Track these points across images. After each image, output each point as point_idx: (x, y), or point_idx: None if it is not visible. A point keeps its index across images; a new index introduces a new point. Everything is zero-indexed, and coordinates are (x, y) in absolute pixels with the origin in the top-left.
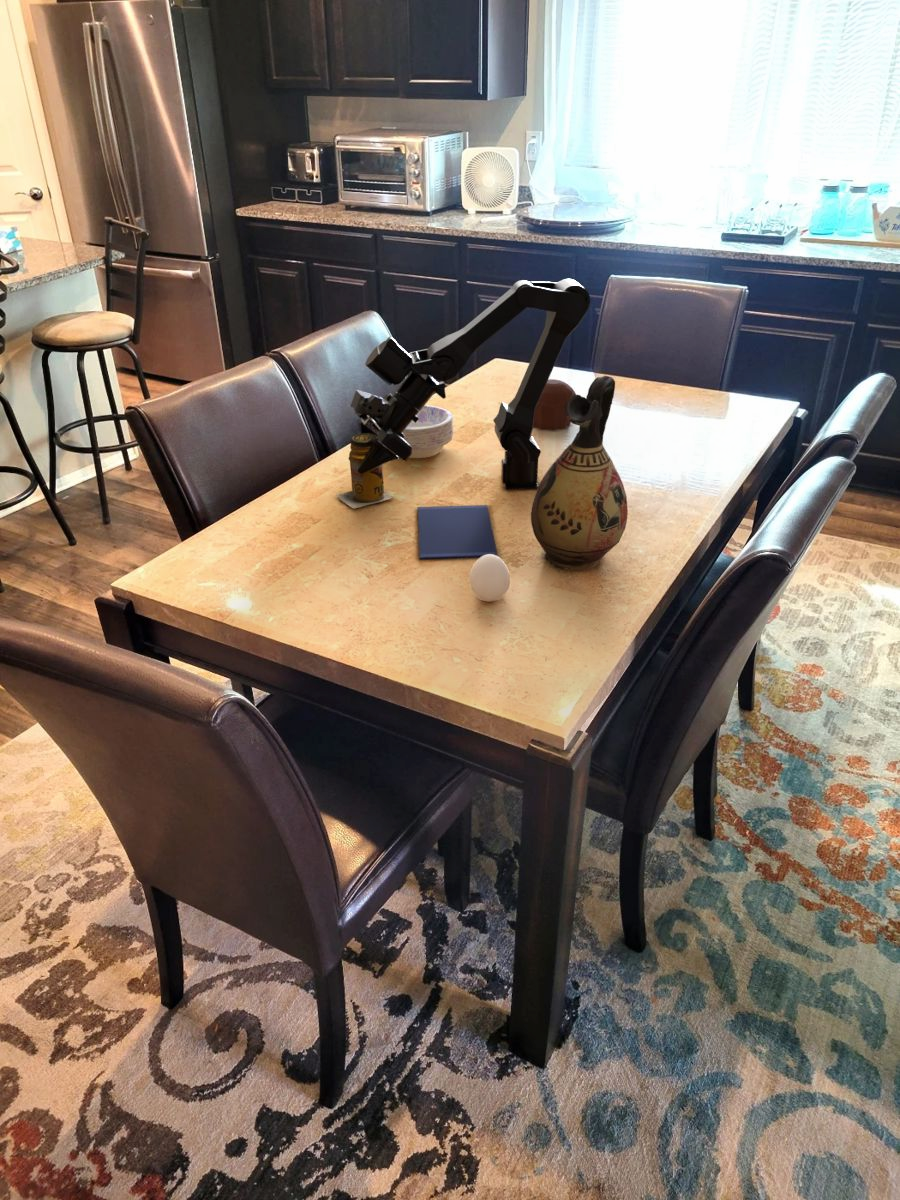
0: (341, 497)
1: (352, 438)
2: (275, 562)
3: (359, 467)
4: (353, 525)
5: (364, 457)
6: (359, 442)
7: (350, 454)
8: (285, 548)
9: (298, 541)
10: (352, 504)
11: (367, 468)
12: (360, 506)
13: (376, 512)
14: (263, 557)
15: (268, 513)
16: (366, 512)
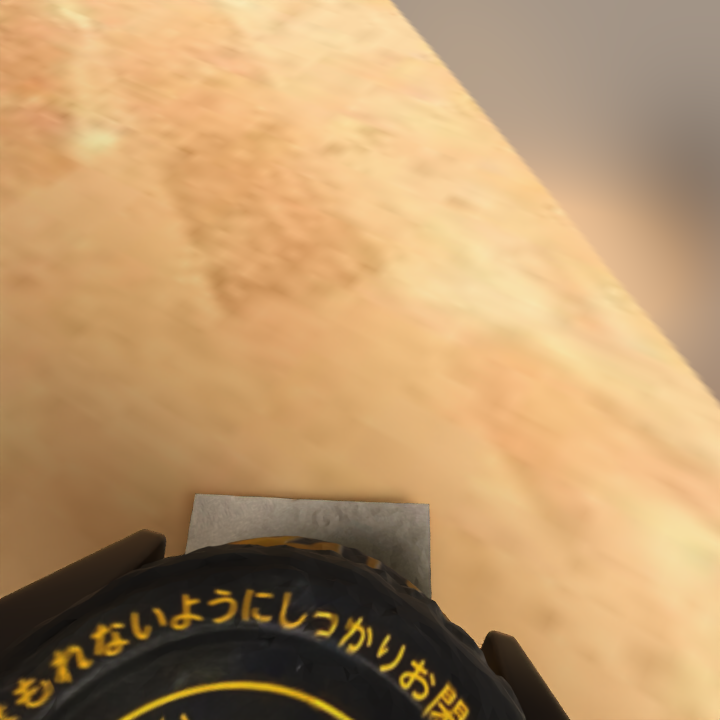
0: (385, 519)
1: (382, 635)
2: (47, 52)
3: (114, 547)
4: (47, 398)
5: None
6: (54, 643)
7: (325, 547)
8: (109, 110)
9: (119, 160)
10: (255, 523)
11: None
12: (192, 547)
13: None
14: (112, 45)
15: (436, 190)
16: None
